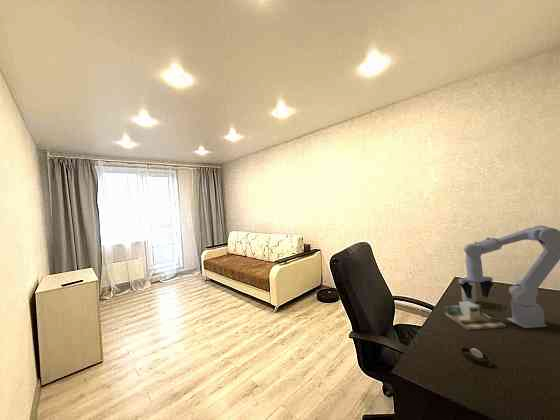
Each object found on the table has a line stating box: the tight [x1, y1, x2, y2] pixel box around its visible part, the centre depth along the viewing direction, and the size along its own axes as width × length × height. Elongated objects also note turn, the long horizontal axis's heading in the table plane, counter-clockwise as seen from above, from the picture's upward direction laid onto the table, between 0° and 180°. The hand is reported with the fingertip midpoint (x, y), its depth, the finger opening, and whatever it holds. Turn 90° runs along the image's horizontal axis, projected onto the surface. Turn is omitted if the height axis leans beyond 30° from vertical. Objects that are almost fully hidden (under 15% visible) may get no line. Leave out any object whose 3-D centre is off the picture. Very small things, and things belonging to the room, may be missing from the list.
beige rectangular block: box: [458, 300, 480, 320], centre depth 105 cm, size 4×6×6 cm
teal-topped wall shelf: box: [444, 303, 507, 331], centre depth 104 cm, size 16×14×4 cm
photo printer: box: [460, 282, 478, 304], centre depth 120 cm, size 10×4×12 cm, turn 123°
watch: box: [461, 347, 490, 366], centre depth 79 cm, size 8×5×4 cm, turn 33°
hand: (477, 297), depth 107 cm, fingers open, 7 cm apart
